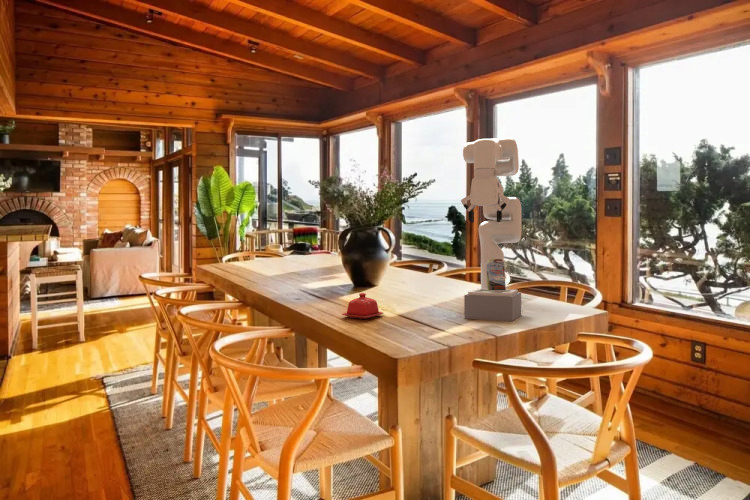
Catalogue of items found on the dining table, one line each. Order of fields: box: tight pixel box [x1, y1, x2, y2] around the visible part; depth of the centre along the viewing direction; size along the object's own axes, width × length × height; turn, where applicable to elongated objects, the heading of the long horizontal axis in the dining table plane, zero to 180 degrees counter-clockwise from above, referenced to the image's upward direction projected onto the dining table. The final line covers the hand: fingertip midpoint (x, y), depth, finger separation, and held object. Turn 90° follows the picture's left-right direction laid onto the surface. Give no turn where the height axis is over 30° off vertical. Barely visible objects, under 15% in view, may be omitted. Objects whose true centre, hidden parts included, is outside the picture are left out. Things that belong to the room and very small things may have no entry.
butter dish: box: [341, 292, 384, 320], centre depth 193 cm, size 12×12×8 cm
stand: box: [463, 288, 522, 322], centre depth 189 cm, size 16×16×9 cm
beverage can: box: [486, 258, 507, 293], centre depth 189 cm, size 6×7×12 cm
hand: (485, 222), depth 197 cm, fingers open, 9 cm apart
